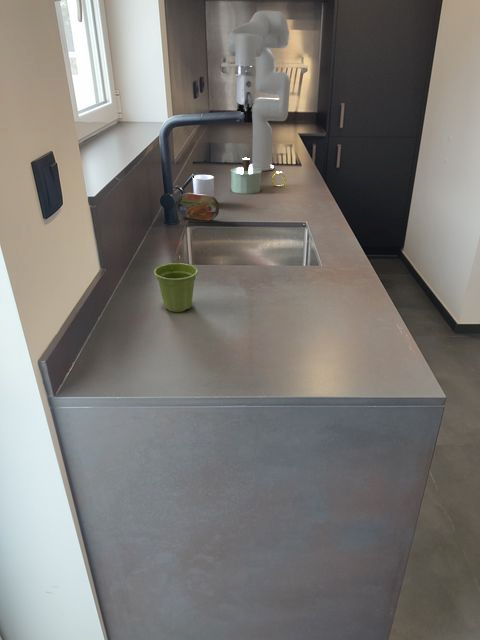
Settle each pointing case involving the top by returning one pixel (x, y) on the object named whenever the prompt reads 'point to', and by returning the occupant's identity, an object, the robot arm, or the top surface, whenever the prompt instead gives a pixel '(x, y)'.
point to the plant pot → (176, 285)
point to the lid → (245, 169)
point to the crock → (245, 183)
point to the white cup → (203, 184)
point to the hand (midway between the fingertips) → (244, 120)
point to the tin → (198, 206)
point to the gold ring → (279, 174)
